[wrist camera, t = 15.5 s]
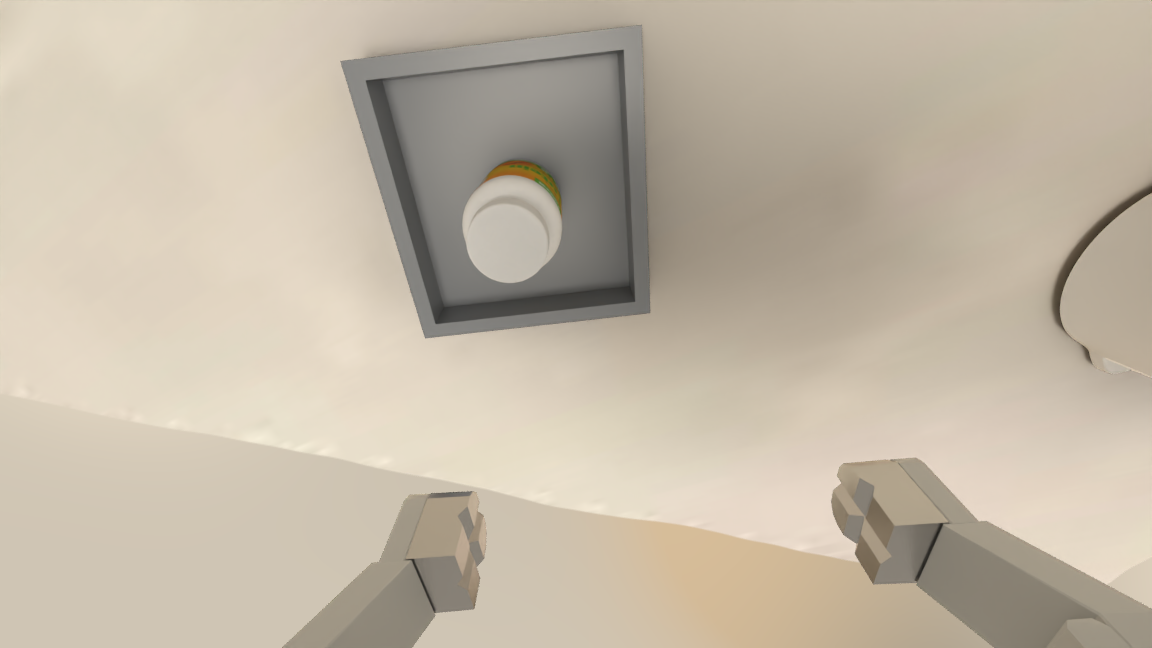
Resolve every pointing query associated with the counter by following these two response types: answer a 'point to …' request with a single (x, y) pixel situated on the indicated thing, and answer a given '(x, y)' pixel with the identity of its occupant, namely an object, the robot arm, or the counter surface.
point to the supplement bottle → (513, 221)
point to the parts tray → (507, 132)
